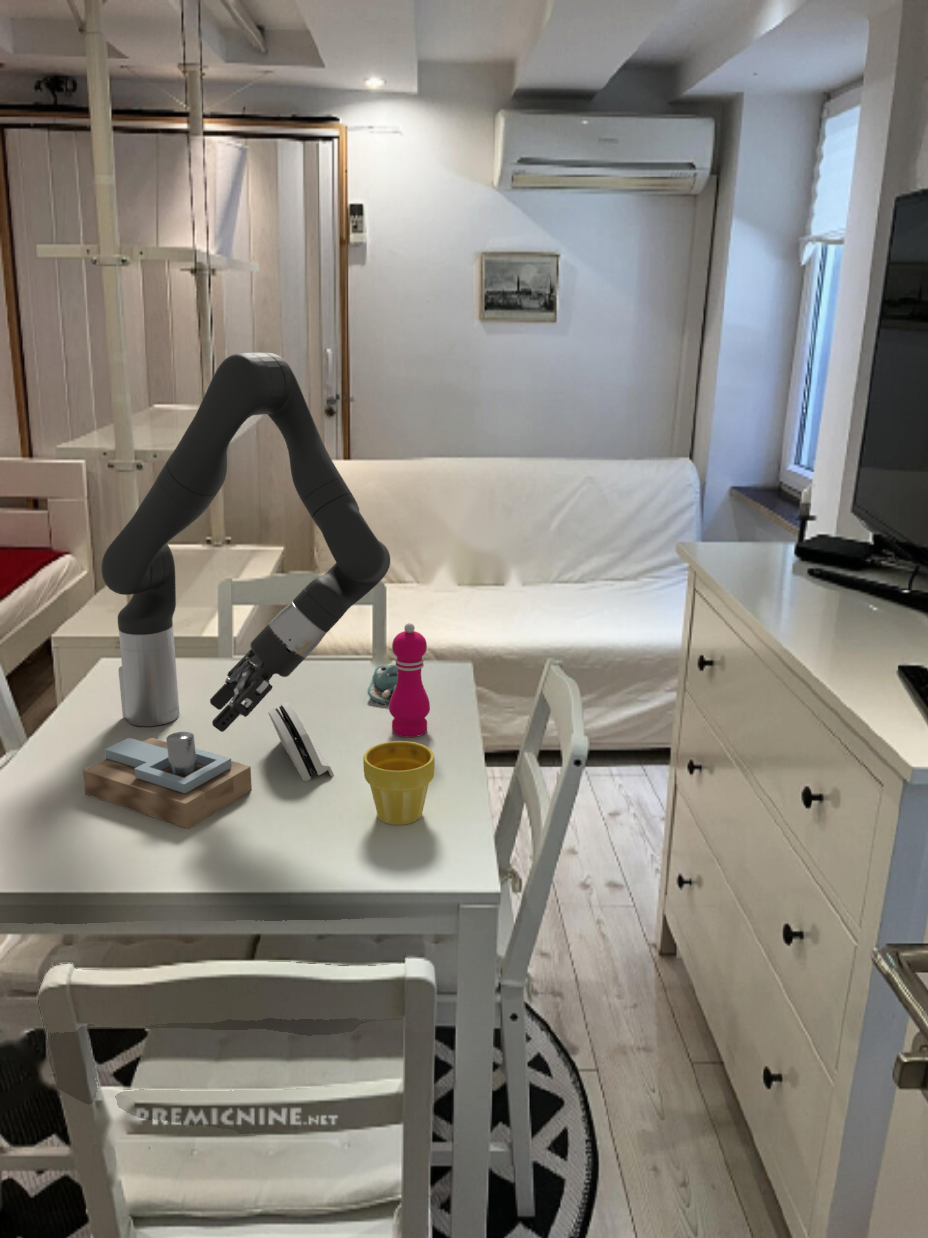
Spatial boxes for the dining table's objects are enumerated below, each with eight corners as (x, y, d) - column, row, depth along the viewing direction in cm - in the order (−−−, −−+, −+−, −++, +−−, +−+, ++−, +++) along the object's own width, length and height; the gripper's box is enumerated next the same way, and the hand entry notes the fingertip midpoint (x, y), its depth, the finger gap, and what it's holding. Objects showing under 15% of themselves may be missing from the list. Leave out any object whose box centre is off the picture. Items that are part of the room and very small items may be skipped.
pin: (167, 799, 153) (160, 739, 150) (187, 788, 157) (180, 729, 154) (186, 805, 151) (179, 744, 148) (205, 794, 155) (199, 735, 151)
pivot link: (92, 764, 155) (91, 755, 154) (141, 740, 163) (140, 732, 163) (185, 793, 146) (184, 784, 146) (231, 767, 155) (231, 758, 154)
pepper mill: (382, 734, 177) (381, 626, 171) (400, 719, 184) (399, 615, 178) (419, 741, 175) (419, 632, 169) (436, 726, 181) (437, 620, 175)
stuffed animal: (379, 687, 184) (358, 655, 194) (377, 720, 188) (356, 687, 197) (433, 679, 189) (409, 648, 198) (430, 711, 192) (407, 679, 201)
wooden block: (85, 793, 154) (82, 770, 153) (152, 759, 166) (150, 737, 165) (187, 828, 145) (185, 803, 144) (251, 789, 157) (250, 766, 155)
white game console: (334, 776, 161) (312, 725, 157) (307, 790, 160) (284, 739, 156) (309, 736, 176) (287, 688, 172) (284, 748, 175) (262, 700, 171)
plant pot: (377, 838, 143) (376, 775, 140) (355, 805, 152) (354, 746, 149) (444, 824, 147) (445, 763, 144) (419, 793, 156) (419, 736, 153)
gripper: (266, 609, 156) (194, 685, 156) (275, 638, 143) (197, 720, 143) (301, 639, 159) (231, 713, 159) (313, 670, 146) (237, 750, 146)
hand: (215, 716), depth 151 cm, fingers open, 8 cm apart
